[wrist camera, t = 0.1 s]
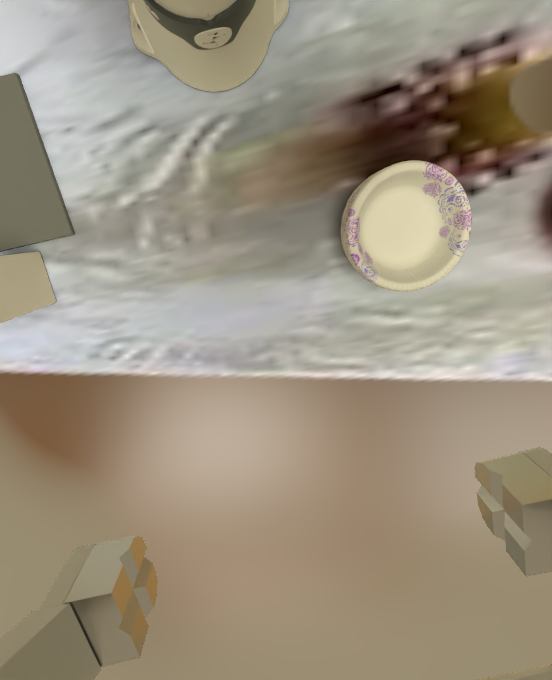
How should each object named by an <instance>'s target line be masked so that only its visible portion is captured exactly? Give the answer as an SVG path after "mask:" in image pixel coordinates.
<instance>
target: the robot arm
mask: <svg viewBox="0 0 552 680" xmlns="http://www.w3.org/2000/svg"><path fill="white" fill-rule="evenodd" d="M128 4H129V13H130V23H131V33H132V39H133V42H134V44H135V46H136V47H137V49H138V50H140V51H141V52H143V53H144V54H146V55H148V56H151V57H153V58H155V59H158V60H159V61H160V62H162V63H163V64H164V65H165V66H166V67H167V68H168V69H169V70H170V72H171V73H172V74H173V75H175V76H176V77H177V78H178V79H179V80H181V81H182V82H184V83H185V84H187V85H189V86H191V87H193V88H196V89H199V90H203V91H210V92H218V91H225V90H229V89H232V88H234V87H236V86H238V85H240V84H242V83H243V82H245V81H246V80H247V79H249V78H250V77H251V76H252V75H253V74H254V73H255V71H256V70H257V69H258V67H259V66H260V64H261V63H262V61H263V59H264V57H265V55H266V52H267V49H268V46H269V43H270V40H271V37H272V35H273V33H274V32H275V30H276V29H277V28H278V27H279V26H280V25H281V23H282V22H283V21H284V19H285V18H286V16H287V14H288V10H289V4H288V0H128ZM139 26H140V28H141V30H140V29H139ZM475 477H476V478H477V480H478V481H479V482H480V483H481V484H482V485H481V487H480V489H479V490H478V492H477V498H478V506H479V509H480V511H481V514H482V517H483V519H484V521H485V523H486V524H487V526H488V528H489V529H490V530H491V532H492V533H493V534H494V535H495V536H497V537H499V538H501V539H503V540H505V542H506V551H507V553H508V554H509V555H510V557H511V558H512V559H513V560H514V561H515V563H516V564H517V566H518V567H519V568H520V569H521V571H522V572H523V573H524V574H525V576H531V575H537V574H542V573H547V572H552V454H551V453H550V452H549V451H547V450H546V449H544V448H541V447H538V448H534V449H530V450H526V451H522V452H518V453H517V454H512V455H507V456H502V457H498V458H493V459H489V460H485V461H480V462H477V463H476V465H475ZM146 549H147V547H146V545H145V543H144V541H143V538H142V537H140V536H138V535H137V536H131V537H126V538H121V539H116V540H111V541H106V542H100V543H97V544H91V545H86V546H82V547H78V548H76V549H75V550H73V551H72V553H71V554H70V556H69V558H68V560H67V561H66V563H65V565H64V566H63V568H62V570H61V572H60V573H59V575H58V577H57V579H56V580H55V582H54V584H53V586H52V587H51V589H50V591H49V593H48V594H47V596H46V598H45V600H44V601H43V603H42V605H41V606H40V608H39V610H35V611H31V612H30V613H29V614H28V615H27V616H26V617H24V618H23V619H22V620H21V621H20V622H19V623H18V624H17V625H15V626H14V627H13V628H12V629H11V630H10V631H8V632H7V633H6V634H5V635H4V636H3V637H1V638H0V680H94V679H95V678H96V676H97V675H98V674H99V672H100V671H101V667H104V666H108V665H112V664H116V663H120V662H124V661H128V660H133V659H137V658H140V656H141V652H142V648H143V645H144V641H145V637H146V634H147V630H148V624H147V622H146V619H145V617H146V616H147V615H148V614H149V613H150V611H151V610H152V609H153V608H154V605H155V601H156V597H157V576H156V571H155V568H154V565H153V563H152V562H150V561H149V560H148V559H146V558H145V557H144V555H145V552H146ZM478 680H552V664H550V665H546V666H541V667H536V668H531V669H527V670H521V671H517V672H512V673H507V674H502V675H497V676H492V677H488V678H483V679H478Z"/></svg>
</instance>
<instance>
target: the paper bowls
mask: <svg viewBox="0 0 552 680" xmlns="http://www.w3.org/2000/svg"><path fill="white" fill-rule="evenodd" d="M471 225H472V216H471V208H470V204H469V200H468V197H467V195H466V193H465V191H464V189H463V187H462V185H461V184H460V183H459V182H458V180H457V179H456V178H455V177H454V176H453V175H452V174H451V173H449V172H448V171H447V170H445V169H443V168H442V167H440V166H437V165H435V164H432V163H429V162H425V161H404V162H400V163H396V164H393V165H391V166H389V167H387V168H384V169H382V170H380V171H378V172H376V173H375V174H373V175H371V176H370V177H368V178H367V179H366V180H365V181H363V182H362V183H361V184H360V185H359V186H358V187H357V188H356V189H355V190H354V192H353V193H352V195H351V196H350V198H349V200H348V202H347V204H346V207H345V209H344V213H343V216H342V221H341V241H342V246H343V249H344V252H345V255H346V257H347V259H348V261H349V262H350V263H351V265H352V266H353V268H354V269H355V270H356V271H357V272H358V273H359V274H360V275H361V276H362V277H364V278H365V279H367V280H368V281H370V282H372V283H374V284H375V285H378V286H380V287H382V288H385V289H388V290H393V291H413V290H418V289H421V288H424V287H427V286H429V285H431V284H433V283H435V282H437V281H438V280H440V279H441V278H443V277H444V276H445V275H446V274H447V273H449V272H450V271H451V270H452V269H453V267H454V266H455V265H456V264H457V263H458V261H459V260H460V258H461V256H462V255H463V253H464V251H465V249H466V246H467V244H468V241H469V237H470V233H471Z"/></svg>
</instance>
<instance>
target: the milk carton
mask: <svg viewBox="0 0 552 680" xmlns="http://www.w3.org/2000/svg"><path fill="white" fill-rule="evenodd" d="M55 302H56V299H55V296H54V293H53V290H52V287H51V284H50V281H49V278H48V275H47V272H46V269H45V266H44V263H43V260H42V257H41V254H40V252H29V253H20V254H11V255H2V256H0V323H2V322H5V321H7V320H10V319H13V318H15V317H18V316H21V315H24V314H26V313H29V312H32V311H34V310H37V309H40V308H42V307H45V306H48V305H50V304H53V303H55Z"/></svg>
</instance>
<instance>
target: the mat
mask: <svg viewBox="0 0 552 680" xmlns="http://www.w3.org/2000/svg"><path fill="white" fill-rule="evenodd" d="M74 234H75V232H74V230H73V227H72V224H71V221H70V218H69V215H68V212H67V210H66V207H65V204H64V201H63V198H62V195H61V193H60V190H59V187H58V184H57V181H56V178H55V176H54V173H53V170H52V167H51V164H50V161H49V159H48V156H47V153H46V150H45V147H44V144H43V142H42V139H41V136H40V133H39V130H38V127H37V125H36V122H35V119H34V116H33V113H32V110H31V107H30V105H29V102H28V99H27V96H26V93H25V90H24V88H23V85H22V82H21V79H20V76H19V75H18V74H16V73H13V74H8V75H4V76H0V251H4V250H8V249H13V248H17V247H21V246H26V245H30V244H35V243H39V242H43V241H48V240H52V239H56V238H61V237H65V236H69V235H74Z"/></svg>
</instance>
